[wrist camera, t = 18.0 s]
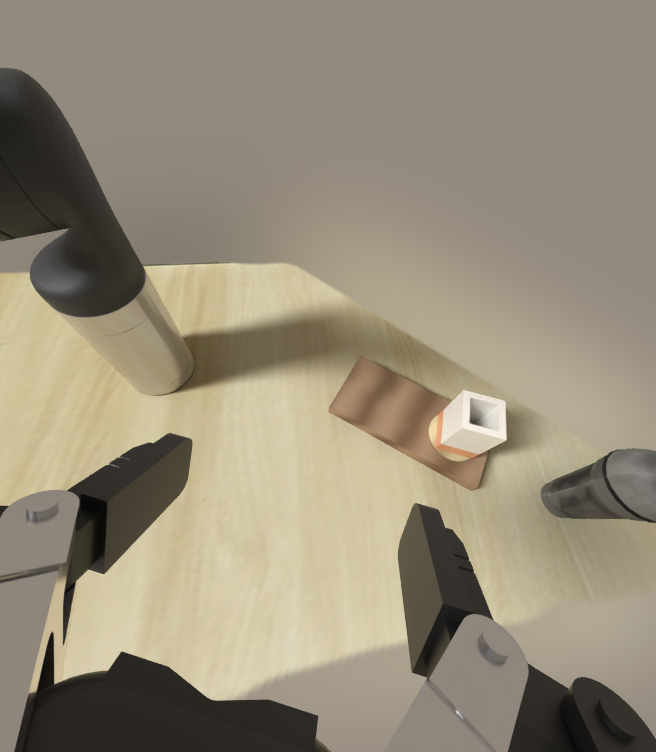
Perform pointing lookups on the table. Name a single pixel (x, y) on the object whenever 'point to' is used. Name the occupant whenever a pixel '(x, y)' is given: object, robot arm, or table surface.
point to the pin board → (402, 419)
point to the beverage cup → (607, 488)
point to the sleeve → (471, 437)
